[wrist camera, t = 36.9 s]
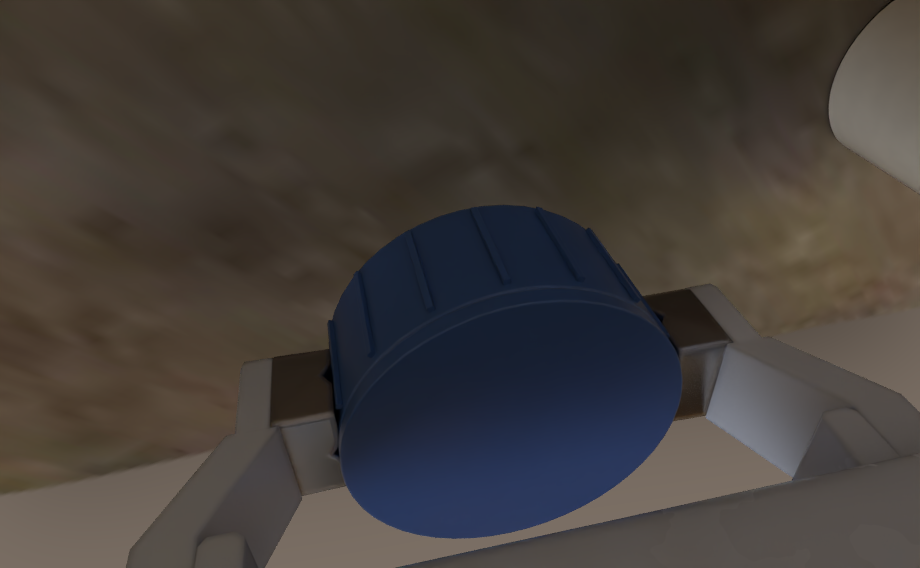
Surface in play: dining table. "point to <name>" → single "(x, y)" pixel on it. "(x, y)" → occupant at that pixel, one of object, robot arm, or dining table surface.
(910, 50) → the jar
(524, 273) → the lid
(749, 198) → the dining table surface
